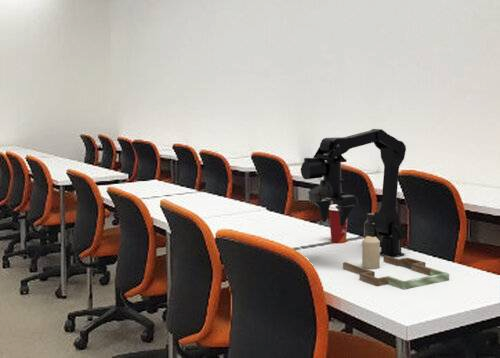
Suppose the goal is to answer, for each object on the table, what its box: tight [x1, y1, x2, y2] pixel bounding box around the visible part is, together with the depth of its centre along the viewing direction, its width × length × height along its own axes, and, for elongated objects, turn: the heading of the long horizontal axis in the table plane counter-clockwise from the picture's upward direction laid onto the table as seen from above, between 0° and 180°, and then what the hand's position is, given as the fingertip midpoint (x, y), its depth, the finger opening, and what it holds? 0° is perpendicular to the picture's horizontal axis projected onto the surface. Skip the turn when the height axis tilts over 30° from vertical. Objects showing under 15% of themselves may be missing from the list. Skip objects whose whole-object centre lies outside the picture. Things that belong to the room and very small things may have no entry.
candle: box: [361, 236, 381, 270], centre depth 209 cm, size 6×6×10 cm
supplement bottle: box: [363, 212, 383, 248], centre depth 239 cm, size 7×7×12 cm
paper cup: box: [328, 203, 349, 244], centre depth 247 cm, size 8×8×14 cm
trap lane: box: [342, 255, 450, 290], centre depth 200 cm, size 26×28×2 cm
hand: (333, 224), depth 213 cm, fingers open, 9 cm apart
